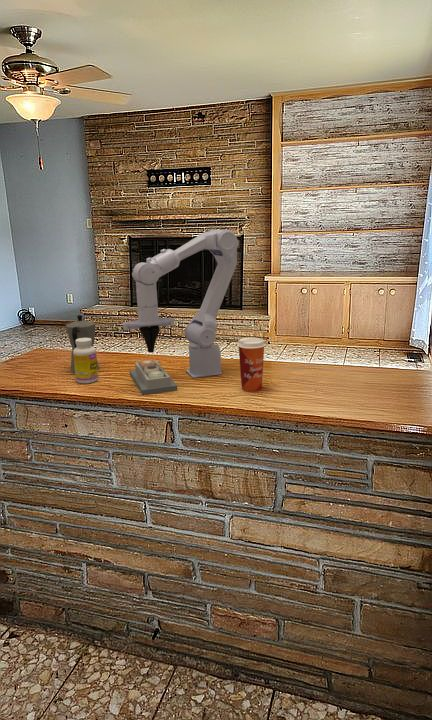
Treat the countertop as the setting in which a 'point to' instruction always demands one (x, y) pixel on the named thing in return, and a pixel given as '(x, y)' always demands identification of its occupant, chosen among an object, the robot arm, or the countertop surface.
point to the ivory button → (151, 368)
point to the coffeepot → (80, 334)
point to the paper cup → (251, 363)
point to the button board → (152, 381)
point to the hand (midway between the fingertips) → (150, 351)
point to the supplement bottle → (85, 361)
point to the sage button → (155, 374)
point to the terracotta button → (147, 363)
